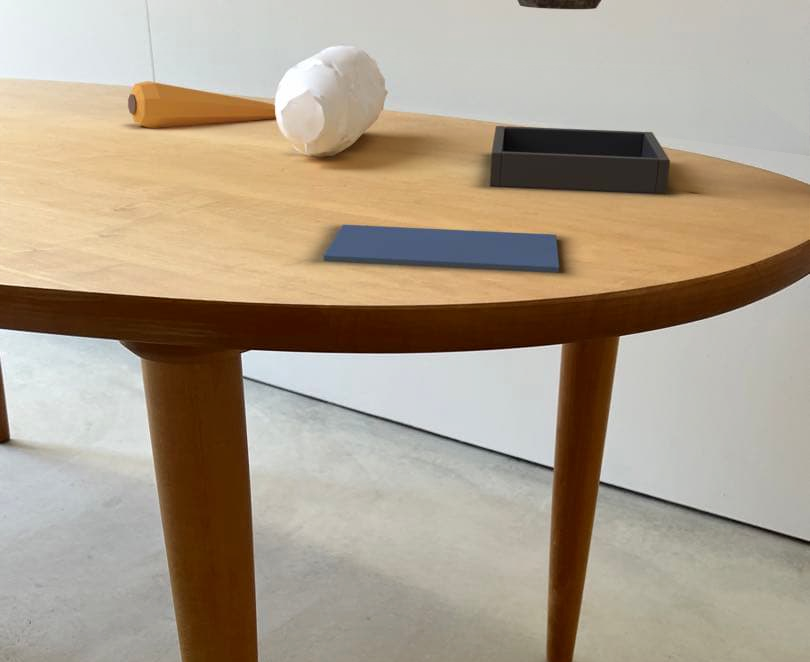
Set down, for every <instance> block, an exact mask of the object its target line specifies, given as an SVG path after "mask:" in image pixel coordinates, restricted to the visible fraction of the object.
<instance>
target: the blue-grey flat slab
mask: <svg viewBox="0 0 810 662" xmlns="http://www.w3.org/2000/svg"><path fill="white" fill-rule="evenodd" d="M341 225H342V226H341V227H340V228H339V230H338V232H337V233H336V235H335V237H334V238H333V240H332V241H331V242H330V245H329V246H328V248H327V249H326V251H325V252H324V254H323V257H322V259H323V262H329V263H330V262H331V263H353V264H369V265H370V264H371V265H392V266H411V267H432V268H452V269H453V268H454V269H471V270H472V269H473V270H493V271H513V272H514V271H515V272H531V273H550V274H552V273H553V274H559V273H560V259H559V249H558V248H559V247H558V239H557V234H552V233H551V234H550V233H549V234H548V233H533V232H531V233H530V232H511V231H509V232H507V231H489V230H488V231H487V230H470V229H469V230H468V229H467V230H465V229H448V228H447V229H446V228H445V229H443V228H425V227H424V228H423V227H406V226H405V227H404V226H403V227H402V226H383V225H381V226H380V225H363V224H362V225H361V224H356V225H355V224H341Z"/></svg>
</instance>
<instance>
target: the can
mask: <svg viewBox="0 0 810 662" xmlns="http://www.w3.org/2000/svg"><path fill="white" fill-rule="evenodd" d="M601 2H602V0H517V3H518V5H519V6H520V7H524V8H534V9H548V10H593V9H597V8H598V6H599V5H600V3H601Z"/></svg>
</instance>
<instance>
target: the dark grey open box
mask: <svg viewBox="0 0 810 662" xmlns="http://www.w3.org/2000/svg"><path fill="white" fill-rule="evenodd" d="M491 148H492V149H491V154H490V155H491V157H490V173H489V188H508V189H530V190H553V191H555V190H556V191H575V192H577V191H578V192H600V193H621V194H622V193H623V194H644V195H645V194H646V195H665V196H666V193H667V186H668V179H669V172H670V164H671V160H670V158H669V157H668V154H667V153H666V152H665V150H664V148H663V147H662V146H661V144H660V142H659V140H658V139H657V138H656V135H655V134H654V132H652V131H635V130H610V129H609V130H608V129H607V130H606V129H584V128H583V129H582V128H580V129H579V128H557V127H536V126H534V127H533V126H509V125H506V126H504V125H496V126H495V129H494V136H493V141H492V147H491Z"/></svg>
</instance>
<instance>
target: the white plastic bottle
mask: <svg viewBox="0 0 810 662" xmlns="http://www.w3.org/2000/svg"><path fill="white" fill-rule="evenodd" d="M378 63H379V62H378V61H377V60H376V59H375V58H374V57H371V56H370V55H369V54H368V53H367V52H366V51H365V50H363V49H359V48H358V47H356V46H354V45H349V46H346V45H344V44H340V45H333V46H329V47H326V48H325V49H322V50H321V51H319V52H318V53H316V54H314V55H312V56H310V57H308V58H306V59H303V60H302V61H300V62H298V63H297V64H296V65H294V66H293V67H291V68H289V69H288V70H287V71H286V73H285V74H284V76H283V77H282V78H281V80H280V82H279V83H278V85H277V88H276V89H277V90H276V92H275V98H274V105H275V115H276V118H275V120H276V123H277V125H278V130H279V132H281V134H282V135H283V137H284V138H285V140H286V141H288V142H289V143H290V145H292V147H293V148H294V149H295V150H296V151H297V152H300V153H301V154H302V155H304V156H307V157H320V158H324V157H325V158H326V157H333V156H335V155H337V154H339V153H341V152H343V151H344V150H346V149H347V148H349V147H351V146H352V145H353V144H354V143H355V142H356V141H357V140H358V139H360V137H361V136H362V135H363V134H364V133H365V132H366V131H367V130H369V129H370V128H371V127H372V126H373V125H374V124H375V123H376V122H377V120H378V119H379V117H380V114H381V113H382V111H384V107H385V101H386V97H387V95H388V94H389V91H388V90H386V79H385V77H384V76H383V74H382V73H381V71H380V68H379V67H378Z"/></svg>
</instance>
